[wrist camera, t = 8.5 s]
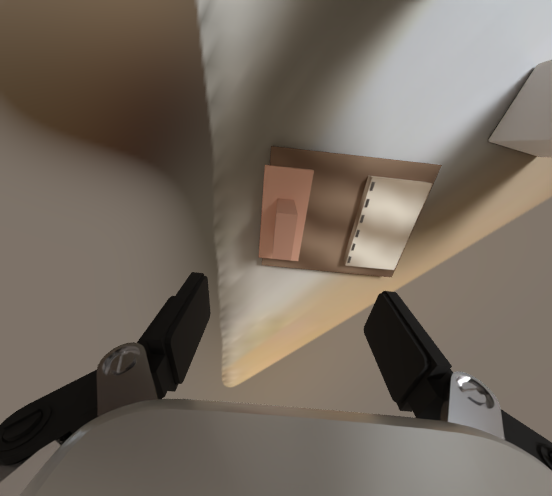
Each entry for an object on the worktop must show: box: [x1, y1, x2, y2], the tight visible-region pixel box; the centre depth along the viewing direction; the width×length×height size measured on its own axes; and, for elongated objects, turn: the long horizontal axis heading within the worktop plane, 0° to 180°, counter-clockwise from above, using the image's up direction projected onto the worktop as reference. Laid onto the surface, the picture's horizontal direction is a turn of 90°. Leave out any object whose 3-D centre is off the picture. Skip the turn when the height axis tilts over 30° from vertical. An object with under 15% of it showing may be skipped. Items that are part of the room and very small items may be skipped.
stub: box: [259, 165, 314, 261], centre depth 23 cm, size 12×6×7 cm, turn 174°
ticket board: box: [262, 146, 442, 277], centre depth 26 cm, size 16×20×3 cm
